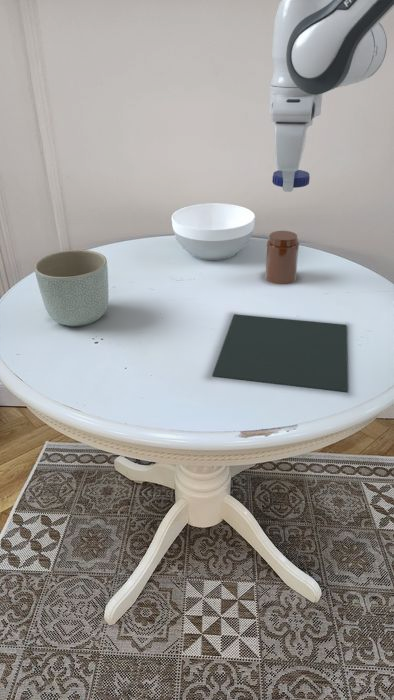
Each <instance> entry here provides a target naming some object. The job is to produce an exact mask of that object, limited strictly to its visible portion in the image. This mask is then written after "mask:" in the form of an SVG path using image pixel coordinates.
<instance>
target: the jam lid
mask: <svg viewBox="0 0 394 700" xmlns="http://www.w3.org/2000/svg"><path fill="white" fill-rule="evenodd" d="M310 177H311V175H310V173H309V172H308V171H306V170H301V169H298V170H297V171H295V175H294V186H293V189H295V188H297V189H298V188H304V187H307V186H308V185H309V184H310ZM271 181H272V184H273V185H274V186H276V187H281V188H283V171H278V170H275V171H274V172H273V174H272V180H271Z"/></svg>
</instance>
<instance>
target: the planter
mask: <svg viewBox="0 0 394 700" xmlns="http://www.w3.org/2000/svg"><path fill="white" fill-rule="evenodd" d="M108 269H109V268H108V260H107V257H106V256H105V255H104V254H103V253H101V252H99V251H98V252H97V251H94V250H88V249H69V250H62V251H58V252H57V251H56V252H54V253H50V254H48V255H46V256H43V257H42V258H40V259H39V260H37V261H36V263H35V264H34V273H35V277H36V281H37V286H38V289H39V293H40V296H41V299H42V303H43V305H44V308H45V311H46V313H47V315H48V316H49V317H50V318H51V319H52V320H53V321H54V322H55V323H57V324H59V325H60V324H61V325H62V326H67V327H75V328H76V327H83V326H87V325H90V324H93V323H94V322H96V321H98V320H100V318H101V317H103V316H104V315H105V313H106V312H107V310H108V306H109V296H110V295H109V291H110V290H109V270H108Z"/></svg>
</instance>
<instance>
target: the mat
mask: <svg viewBox="0 0 394 700" xmlns="http://www.w3.org/2000/svg"><path fill="white" fill-rule="evenodd" d="M347 341H348V340H347V324H342V323H331V322H323V321H322V322H321V321H312V320H311V321H310V320H302V319H301V320H299V319H290V318H289V319H288V318H279V317H267V316H257V315H247V314H237V313H234V314H233V316H232V318H231V322H230V325H229V328H228V331H227V333H226V336H225V339H224V342H223V344H222V347H221V350H220V353H219V356H218V358H217V361H216V364H215V366H214V369H213V372H212V377H213V378H221V379H229V380H231V379H232V380H236V381H237V380H238V381H245V382H255V383H262V384H270V385H280V386H289V387H298V388H306V389H313V390H322V391H330V392H340V393H348V354H347V353H348V351H347V349H348V347H347V346H348V344H347Z"/></svg>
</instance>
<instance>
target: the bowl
mask: <svg viewBox="0 0 394 700" xmlns="http://www.w3.org/2000/svg"><path fill="white" fill-rule="evenodd" d="M255 223H256V215H255V213H254V212H253V211H252V210H251V209H249V208H248V207H247V208H246V207H244V206H241V205H236V204H231V203H222V202H221V203H220V202H219V203H216V202H214V203H213V202H212V203H211V202H210V203H199V204H197V203H196V204H191V205H188V206H185V207H182V208H179V209H177V210H175V211H174V212H173V213H172V215H171V224H172V230H173V234H174V236H175V240H176V241H177V242H178V244H179V245H180V246H181V247H182V249H183V250H185V251H186V252H188V253H189V254H190V255H191V256H192V257H194V258H196V259H199V260H204V261H223V260H227V259H231V258H232V257H235V255H237V253H239V252H240V251H242V250H243V249H244V248H245V247H246V246H247V244H248V243H249V242H250V241H251V238H252V235H253V232H254V229H255Z"/></svg>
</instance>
